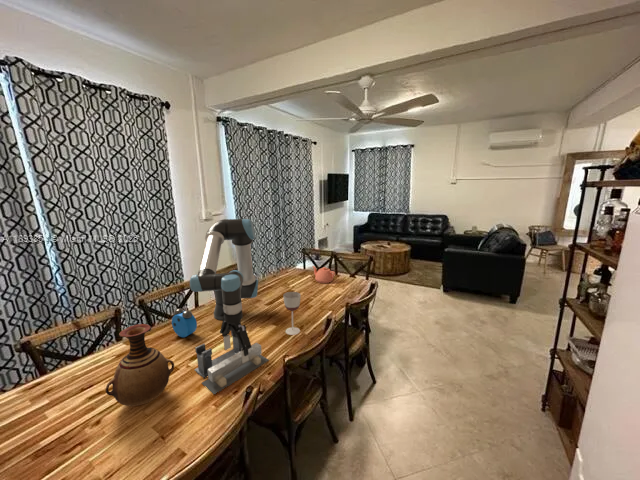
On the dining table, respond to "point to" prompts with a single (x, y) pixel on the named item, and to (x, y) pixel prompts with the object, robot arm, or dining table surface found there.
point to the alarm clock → (184, 323)
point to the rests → (222, 381)
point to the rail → (232, 363)
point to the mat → (234, 375)
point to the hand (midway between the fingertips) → (236, 354)
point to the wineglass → (292, 308)
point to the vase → (139, 370)
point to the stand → (207, 362)
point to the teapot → (323, 275)
